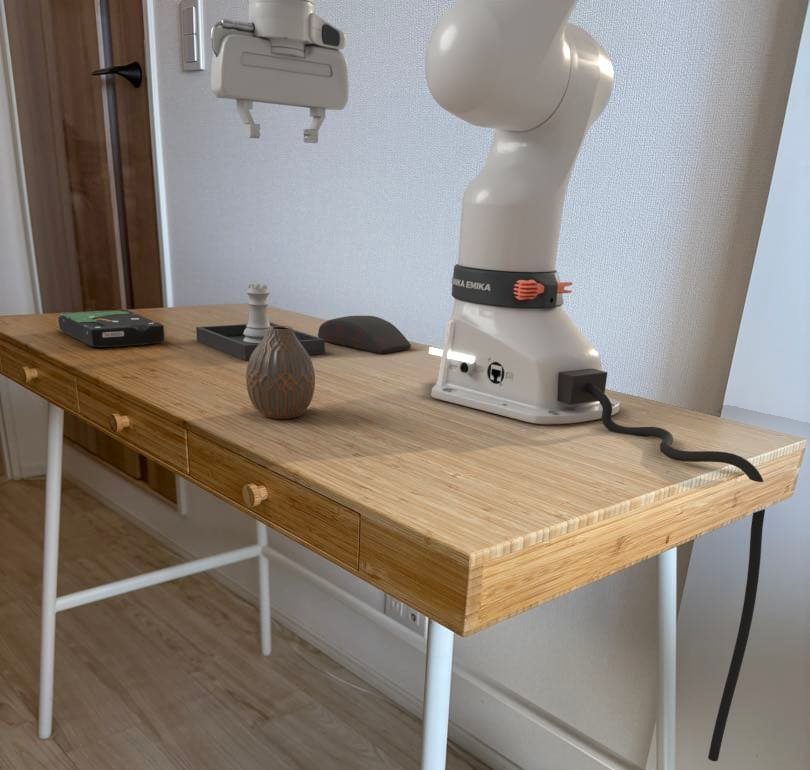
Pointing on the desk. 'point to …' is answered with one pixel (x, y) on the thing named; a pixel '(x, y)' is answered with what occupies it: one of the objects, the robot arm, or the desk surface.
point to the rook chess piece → (257, 314)
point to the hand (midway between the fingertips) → (282, 140)
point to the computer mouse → (364, 334)
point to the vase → (280, 375)
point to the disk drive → (111, 328)
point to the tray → (233, 344)
